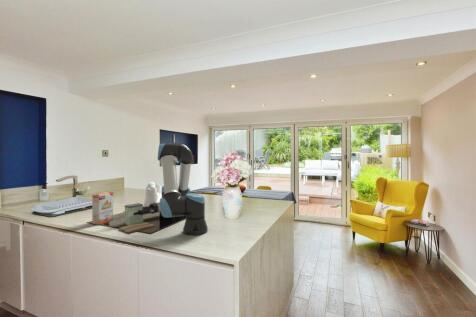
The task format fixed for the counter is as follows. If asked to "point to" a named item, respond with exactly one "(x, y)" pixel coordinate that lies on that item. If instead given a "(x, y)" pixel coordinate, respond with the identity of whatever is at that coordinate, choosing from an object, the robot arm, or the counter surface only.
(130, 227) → the walnut board
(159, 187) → the decorative rooster
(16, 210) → the counter surface
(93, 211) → the cracker box
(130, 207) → the sage block
